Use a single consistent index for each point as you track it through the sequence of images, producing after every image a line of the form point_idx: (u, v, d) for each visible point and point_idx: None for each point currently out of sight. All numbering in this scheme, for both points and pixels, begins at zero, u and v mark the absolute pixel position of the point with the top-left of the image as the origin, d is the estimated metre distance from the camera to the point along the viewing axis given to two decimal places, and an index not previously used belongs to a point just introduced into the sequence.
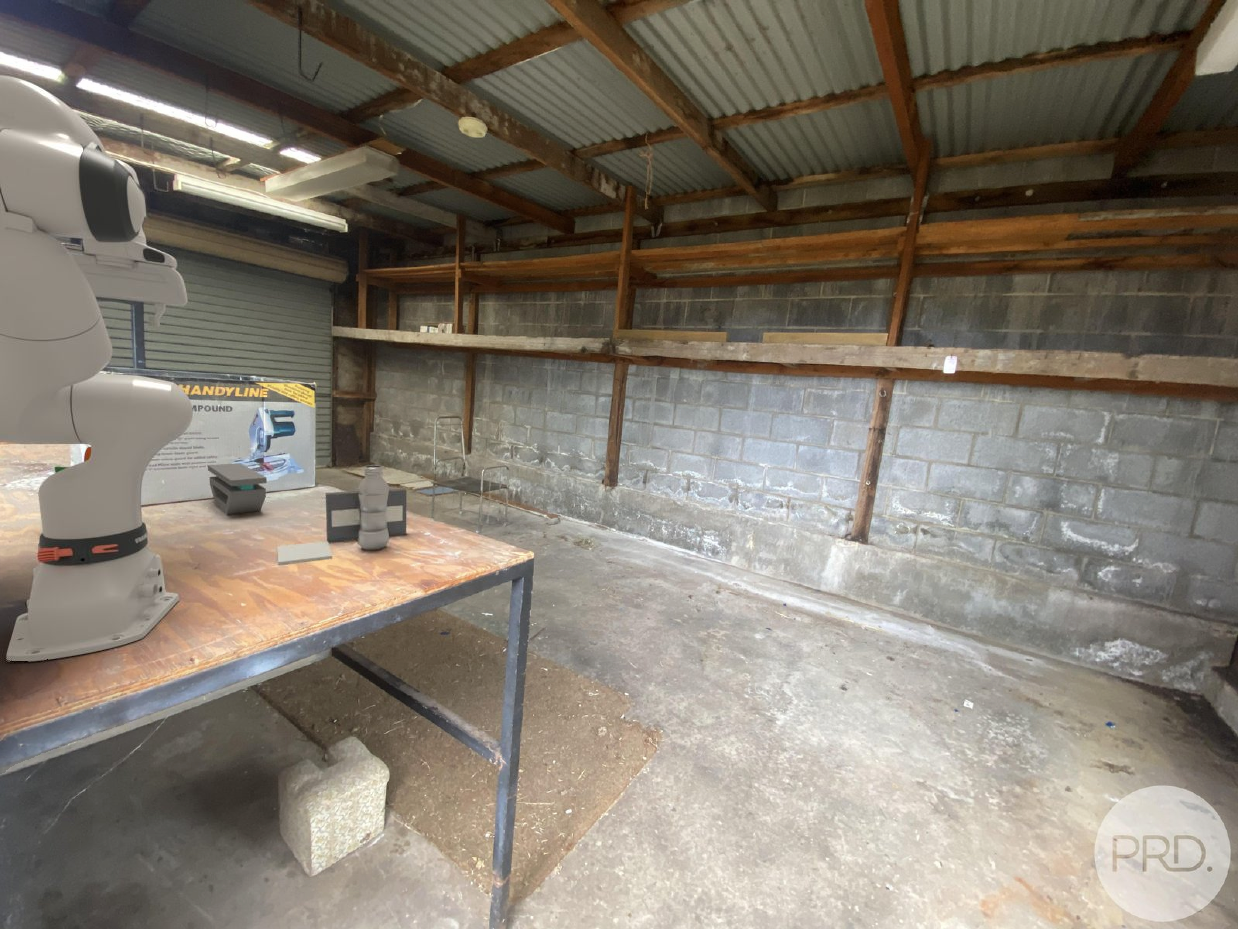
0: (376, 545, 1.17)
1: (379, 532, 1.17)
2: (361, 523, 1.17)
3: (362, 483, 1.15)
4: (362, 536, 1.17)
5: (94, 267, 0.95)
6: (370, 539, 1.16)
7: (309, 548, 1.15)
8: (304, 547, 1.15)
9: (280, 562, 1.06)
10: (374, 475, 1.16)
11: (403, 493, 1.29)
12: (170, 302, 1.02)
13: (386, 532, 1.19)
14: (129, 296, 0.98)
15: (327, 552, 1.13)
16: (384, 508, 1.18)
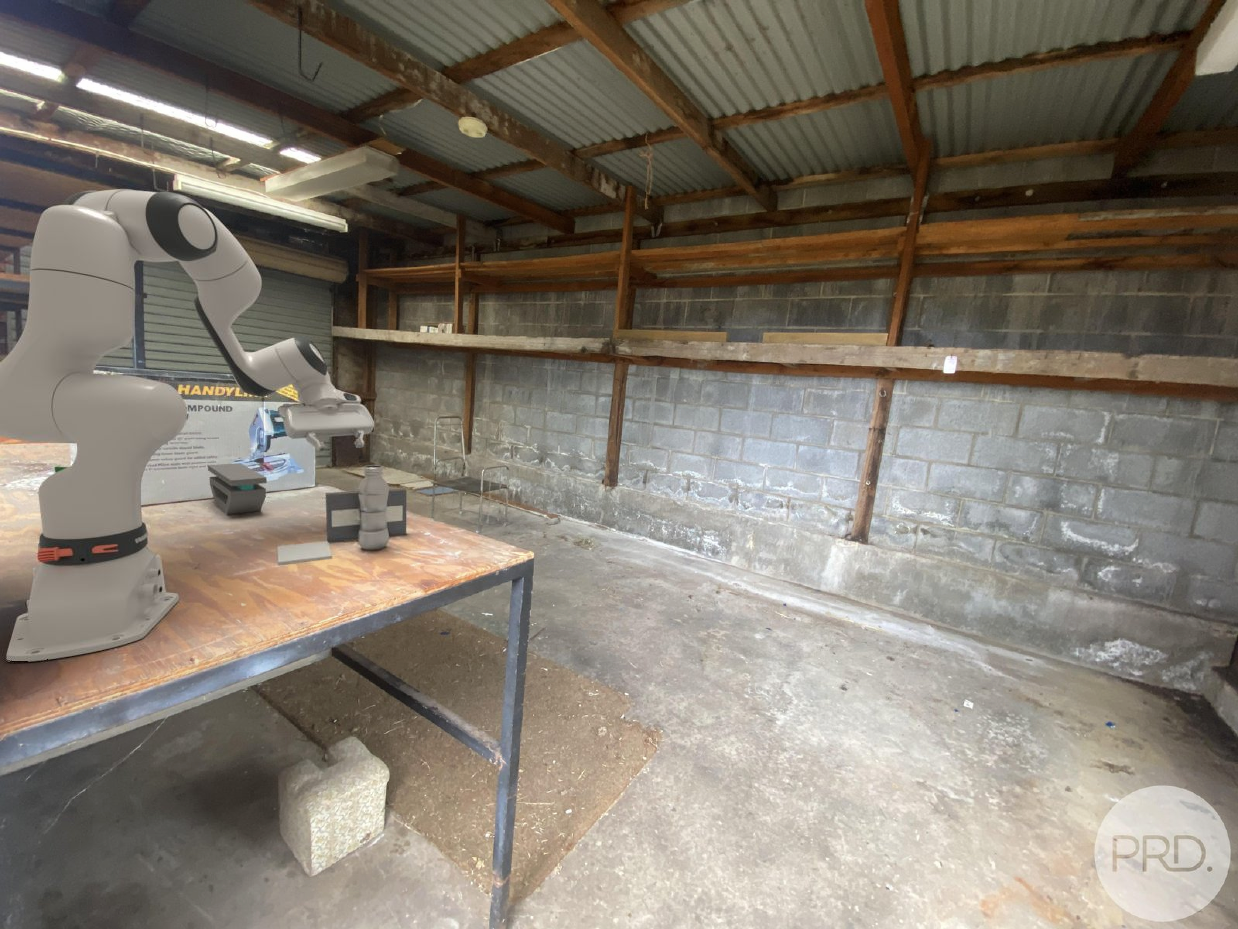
0: (376, 545, 1.17)
1: (379, 532, 1.17)
2: (361, 523, 1.17)
3: (362, 483, 1.15)
4: (362, 536, 1.17)
5: (316, 413, 1.23)
6: (370, 539, 1.16)
7: (309, 548, 1.15)
8: (304, 547, 1.15)
9: (280, 562, 1.06)
10: (374, 475, 1.16)
11: (403, 493, 1.29)
12: (367, 425, 1.30)
13: (386, 532, 1.19)
14: (343, 426, 1.25)
15: (327, 552, 1.13)
16: (384, 508, 1.18)
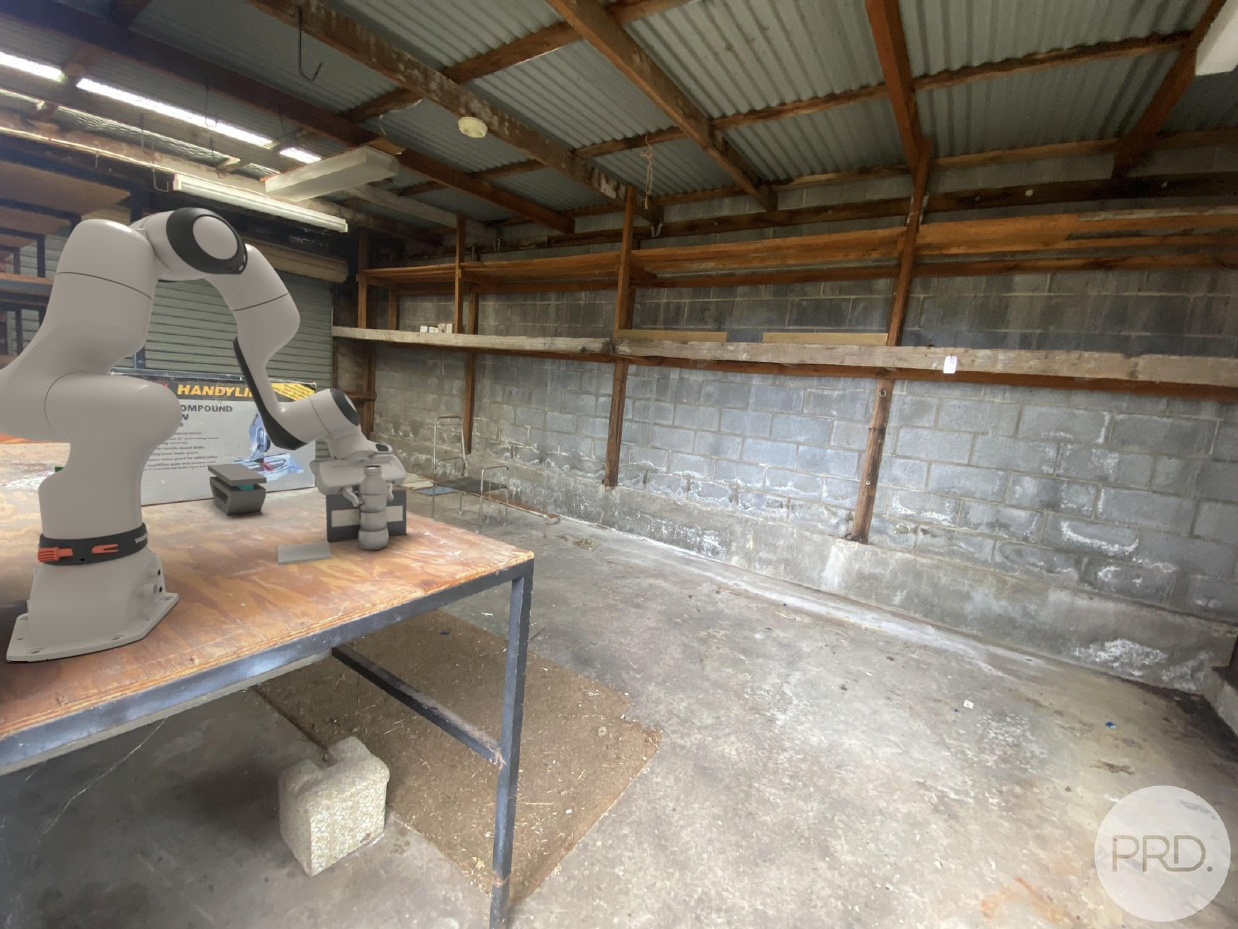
0: (376, 545, 1.17)
1: (379, 532, 1.17)
2: (361, 523, 1.17)
3: (361, 483, 1.15)
4: (362, 536, 1.17)
5: (349, 466, 1.17)
6: (370, 539, 1.16)
7: (309, 548, 1.15)
8: (304, 547, 1.15)
9: (280, 562, 1.06)
10: (373, 475, 1.16)
11: (403, 493, 1.29)
12: (399, 477, 1.24)
13: (386, 532, 1.19)
14: None
15: (327, 552, 1.13)
16: (384, 508, 1.18)
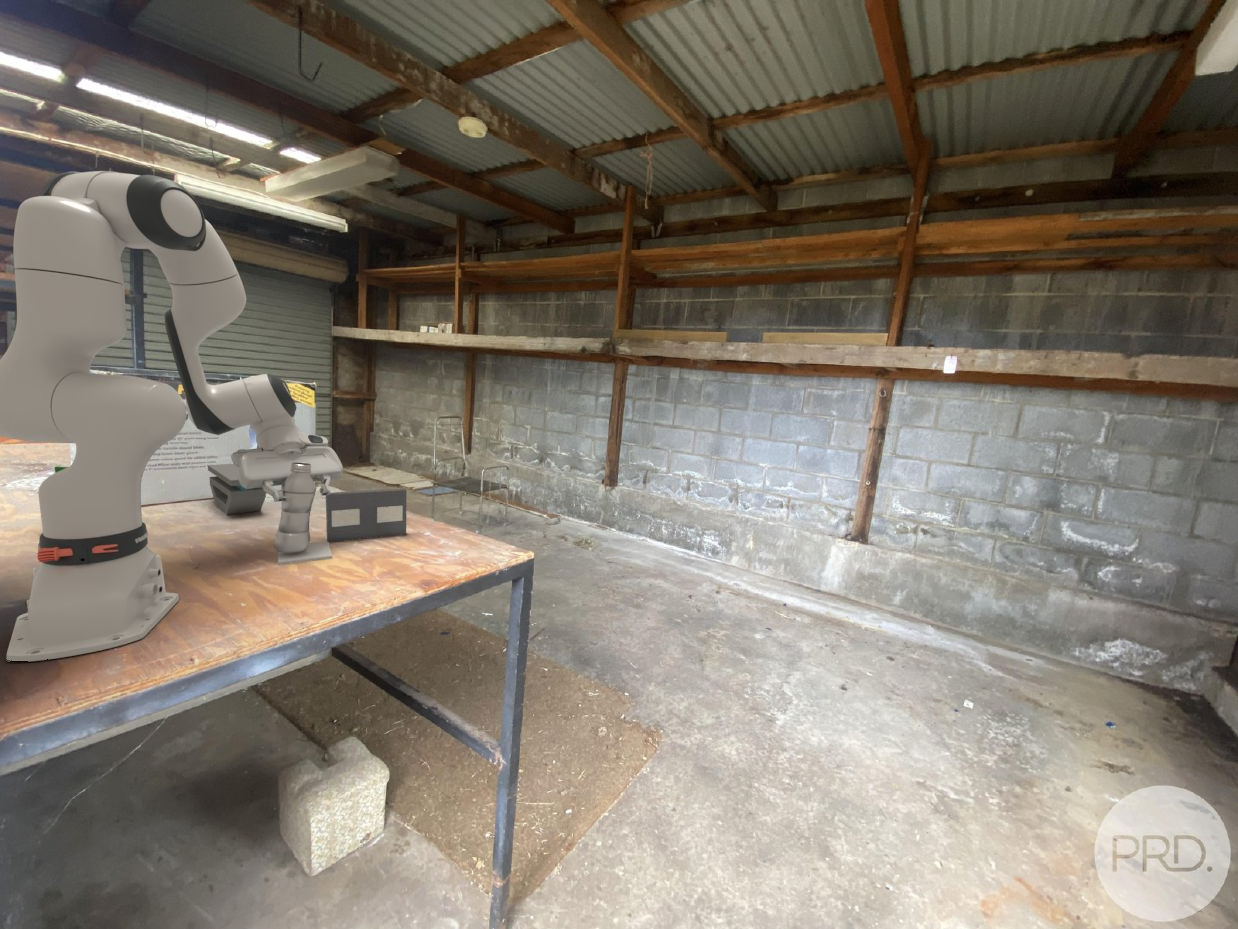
0: (292, 548, 1.09)
1: (298, 534, 1.09)
2: (280, 523, 1.09)
3: (286, 480, 1.08)
4: (279, 536, 1.08)
5: (276, 458, 1.11)
6: (287, 541, 1.08)
7: (309, 548, 1.15)
8: None
9: (280, 562, 1.06)
10: (300, 473, 1.09)
11: (403, 493, 1.29)
12: (334, 470, 1.18)
13: (307, 535, 1.11)
14: None
15: (327, 552, 1.13)
16: (307, 509, 1.10)
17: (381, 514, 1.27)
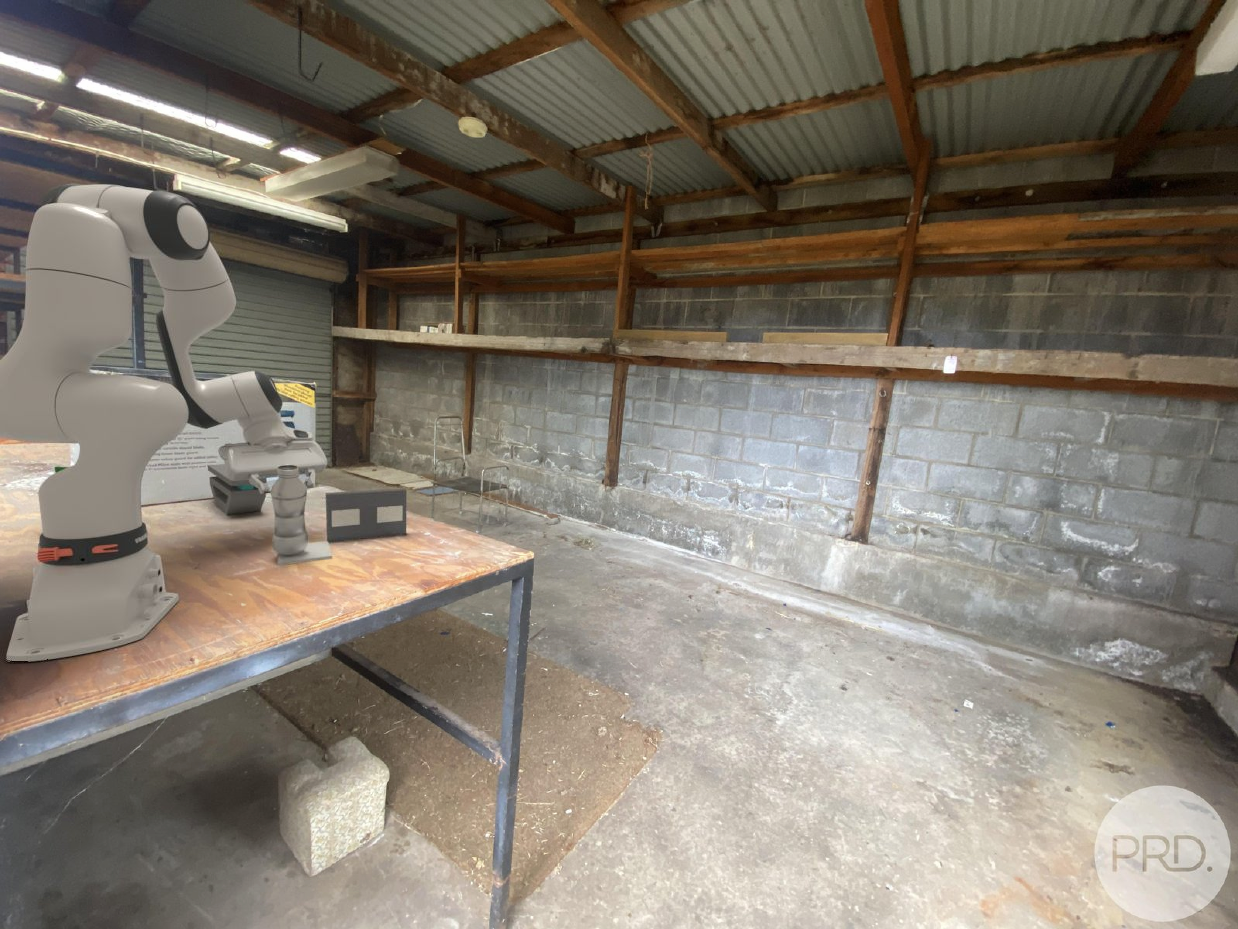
0: (291, 551, 1.08)
1: (295, 538, 1.08)
2: (275, 527, 1.07)
3: (274, 486, 1.04)
4: (275, 540, 1.07)
5: (262, 452, 1.15)
6: (284, 545, 1.07)
7: (309, 548, 1.15)
8: None
9: (280, 562, 1.06)
10: (288, 478, 1.05)
11: (403, 493, 1.29)
12: (318, 464, 1.22)
13: (304, 537, 1.10)
14: None
15: (327, 552, 1.13)
16: (301, 512, 1.08)
17: (381, 514, 1.27)
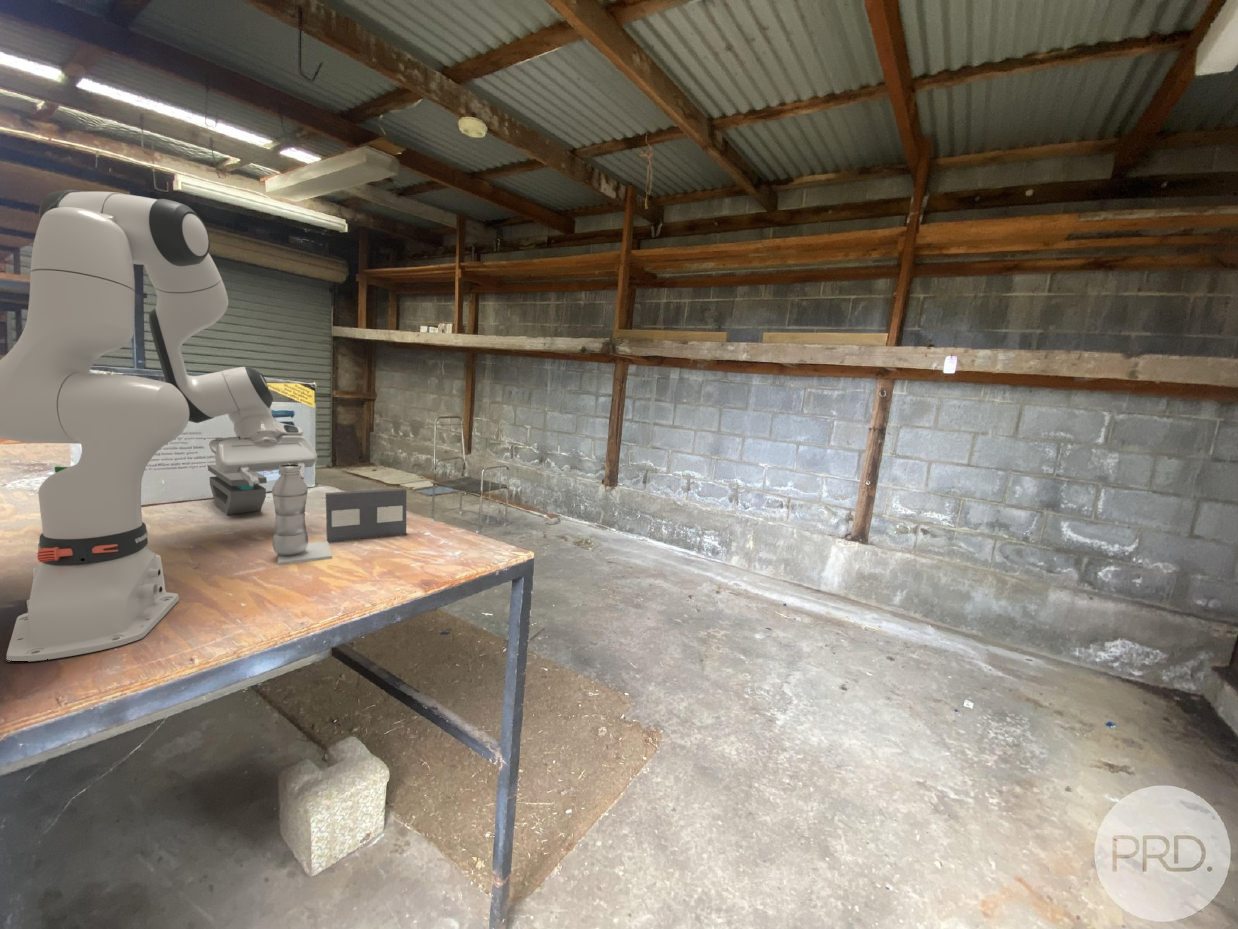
0: (291, 551, 1.09)
1: (295, 537, 1.09)
2: (275, 526, 1.08)
3: (276, 483, 1.06)
4: (276, 540, 1.08)
5: (252, 446, 1.18)
6: (284, 544, 1.08)
7: (309, 548, 1.15)
8: None
9: (280, 562, 1.06)
10: (289, 475, 1.07)
11: (403, 493, 1.29)
12: (308, 458, 1.25)
13: (304, 536, 1.11)
14: (281, 459, 1.20)
15: (327, 552, 1.13)
16: (301, 511, 1.09)
17: (381, 514, 1.27)
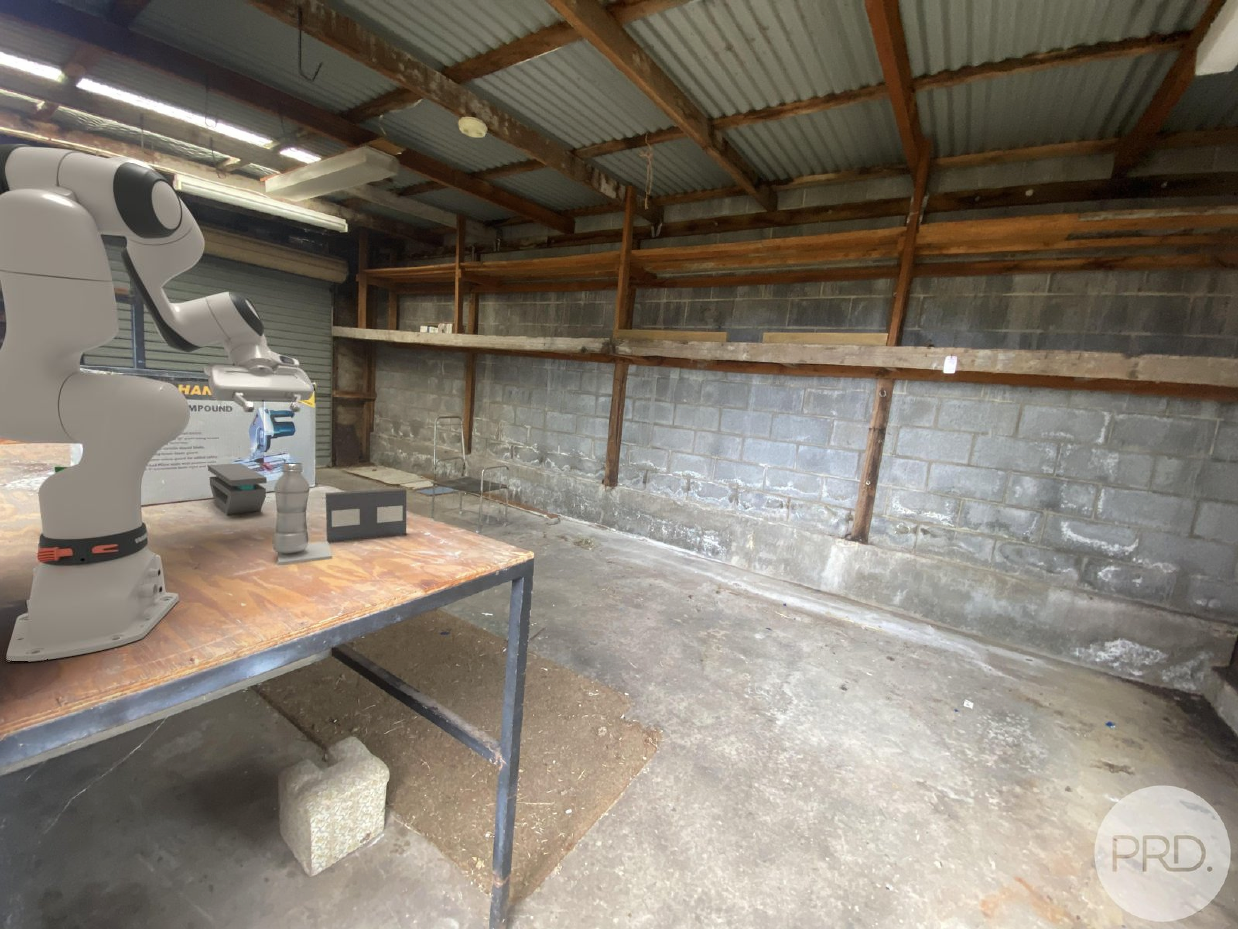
0: (291, 548, 1.09)
1: (296, 534, 1.09)
2: (276, 524, 1.09)
3: (278, 480, 1.08)
4: (276, 538, 1.08)
5: (247, 373, 1.15)
6: (285, 541, 1.08)
7: (309, 548, 1.15)
8: None
9: (280, 562, 1.06)
10: (292, 472, 1.09)
11: (403, 493, 1.29)
12: (304, 390, 1.22)
13: (305, 535, 1.11)
14: (276, 388, 1.17)
15: (327, 552, 1.13)
16: (303, 508, 1.10)
17: (381, 514, 1.27)
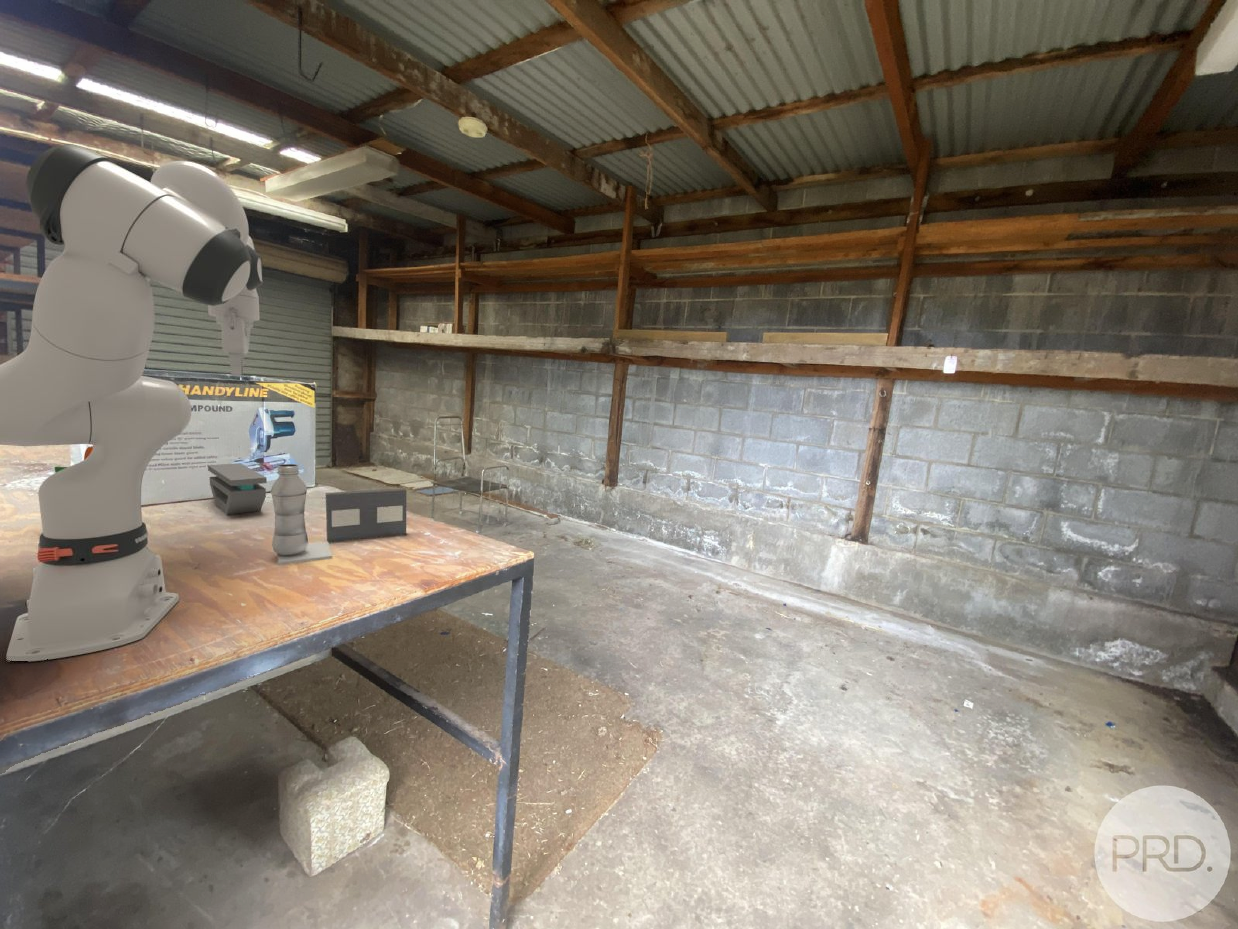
0: (291, 550, 1.09)
1: (295, 536, 1.09)
2: (275, 526, 1.08)
3: (275, 483, 1.07)
4: (275, 540, 1.08)
5: None
6: (284, 544, 1.08)
7: (309, 548, 1.15)
8: None
9: (280, 562, 1.06)
10: (288, 475, 1.07)
11: (403, 493, 1.29)
12: (247, 352, 1.17)
13: (304, 536, 1.11)
14: (246, 351, 1.12)
15: (327, 552, 1.13)
16: (301, 510, 1.09)
17: (381, 514, 1.27)
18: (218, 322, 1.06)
